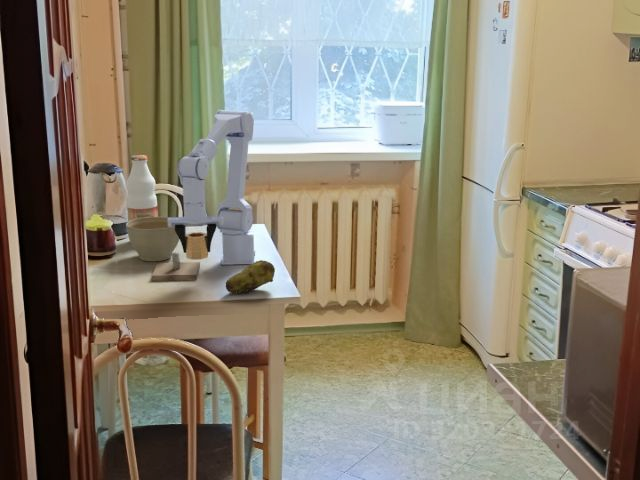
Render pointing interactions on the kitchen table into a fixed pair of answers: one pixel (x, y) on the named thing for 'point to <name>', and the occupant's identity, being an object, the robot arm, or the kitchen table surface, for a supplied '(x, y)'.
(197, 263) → the pin block
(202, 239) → the octagonal wooden tube
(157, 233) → the planter bowl
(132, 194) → the white milk bottle
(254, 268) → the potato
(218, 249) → the kitchen table surface
